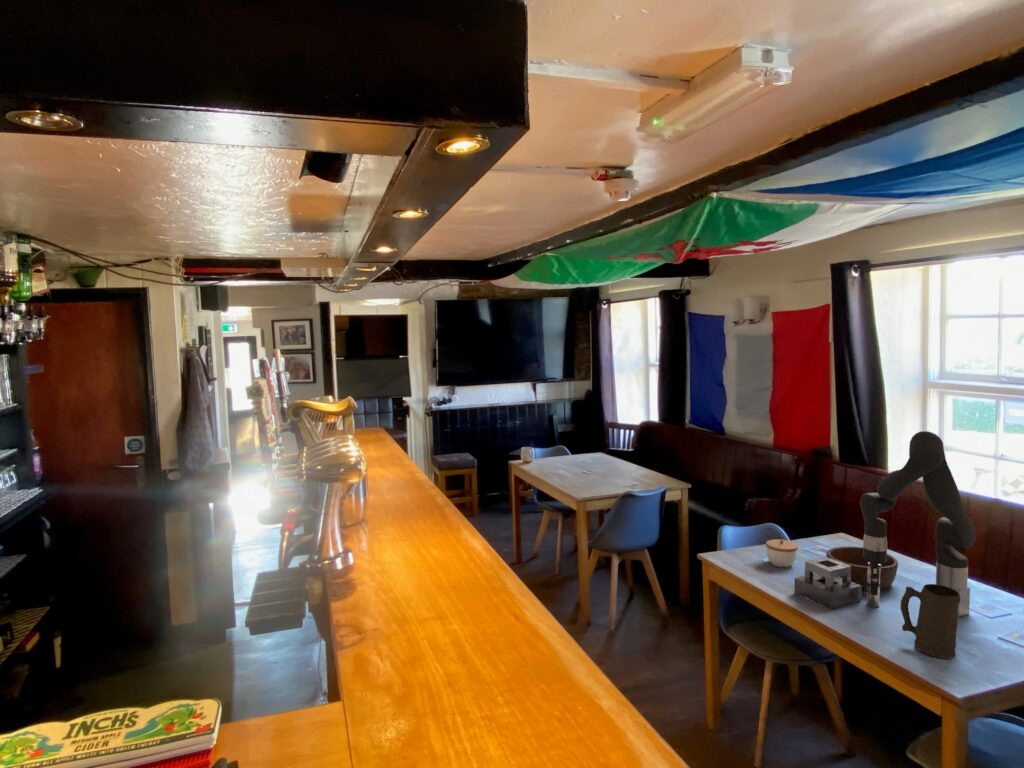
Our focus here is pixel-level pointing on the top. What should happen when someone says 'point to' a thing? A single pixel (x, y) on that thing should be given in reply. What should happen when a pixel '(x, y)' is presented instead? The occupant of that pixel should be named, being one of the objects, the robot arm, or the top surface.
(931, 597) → the beer stein
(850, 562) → the wooden bowl
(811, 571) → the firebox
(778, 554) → the lidded bowl
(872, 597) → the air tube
